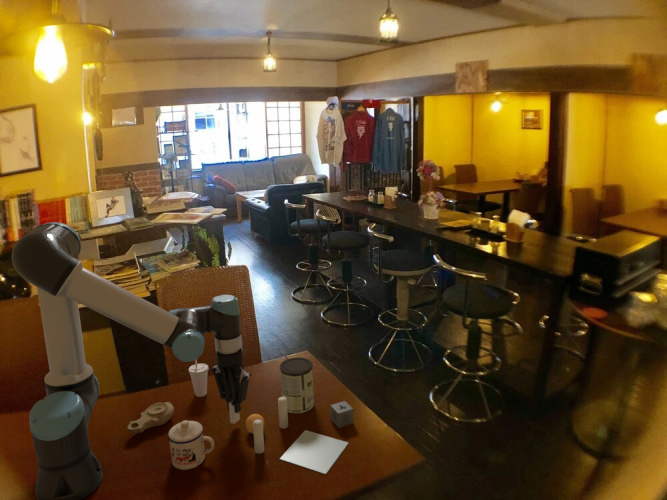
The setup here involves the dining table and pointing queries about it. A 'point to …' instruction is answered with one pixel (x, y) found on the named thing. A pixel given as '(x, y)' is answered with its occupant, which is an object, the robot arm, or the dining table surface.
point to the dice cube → (341, 414)
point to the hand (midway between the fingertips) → (235, 420)
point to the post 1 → (258, 436)
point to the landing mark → (314, 451)
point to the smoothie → (199, 378)
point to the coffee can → (297, 384)
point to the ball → (250, 420)
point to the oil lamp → (152, 417)
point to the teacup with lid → (188, 444)
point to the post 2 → (283, 412)
